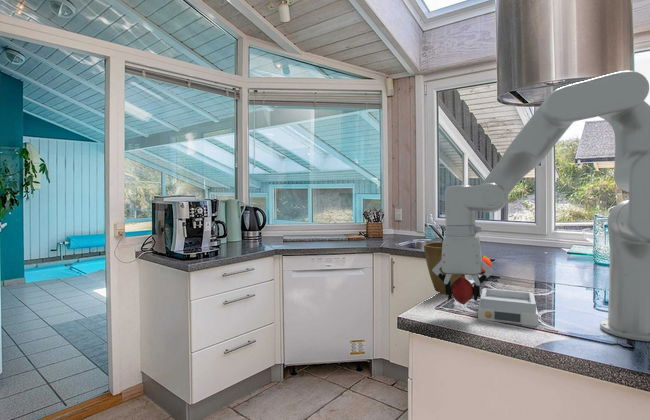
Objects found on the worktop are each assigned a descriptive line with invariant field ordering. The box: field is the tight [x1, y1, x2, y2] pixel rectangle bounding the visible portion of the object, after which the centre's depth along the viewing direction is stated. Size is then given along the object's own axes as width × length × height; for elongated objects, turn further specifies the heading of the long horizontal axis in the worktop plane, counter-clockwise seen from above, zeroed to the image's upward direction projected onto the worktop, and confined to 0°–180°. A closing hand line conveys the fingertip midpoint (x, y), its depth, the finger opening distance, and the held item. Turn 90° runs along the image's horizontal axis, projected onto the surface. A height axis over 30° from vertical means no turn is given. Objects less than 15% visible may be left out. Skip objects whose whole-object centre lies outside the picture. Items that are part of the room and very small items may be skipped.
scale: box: [477, 287, 539, 327], centre depth 107 cm, size 14×14×5 cm
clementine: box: [481, 255, 493, 274], centre depth 168 cm, size 8×7×7 cm
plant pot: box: [423, 241, 461, 294], centre depth 134 cm, size 15×15×16 cm
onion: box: [451, 275, 474, 305], centre depth 106 cm, size 6×6×8 cm
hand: (462, 298), depth 106 cm, fingers closed on onion, 5 cm apart
